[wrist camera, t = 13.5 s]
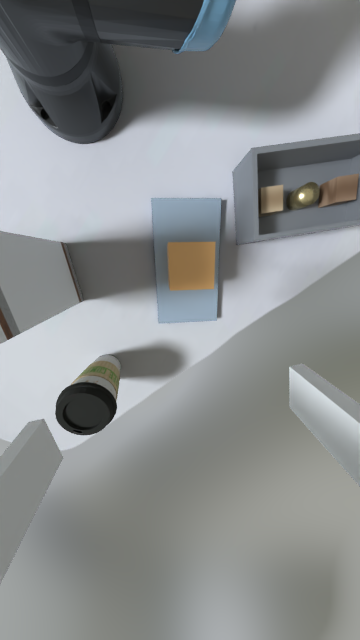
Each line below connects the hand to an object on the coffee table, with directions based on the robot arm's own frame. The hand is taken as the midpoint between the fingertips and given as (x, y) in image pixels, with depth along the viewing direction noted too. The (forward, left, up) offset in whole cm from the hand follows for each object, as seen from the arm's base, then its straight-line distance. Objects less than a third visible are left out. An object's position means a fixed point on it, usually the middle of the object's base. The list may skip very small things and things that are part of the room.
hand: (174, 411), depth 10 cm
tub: (-15, +29, -33) cm, 47 cm away
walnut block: (-15, +36, -32) cm, 51 cm away
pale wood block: (-15, +22, -32) cm, 42 cm away
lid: (-6, +6, -34) cm, 35 cm away
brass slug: (-15, +29, -32) cm, 46 cm away
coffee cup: (+14, -16, -33) cm, 40 cm away
